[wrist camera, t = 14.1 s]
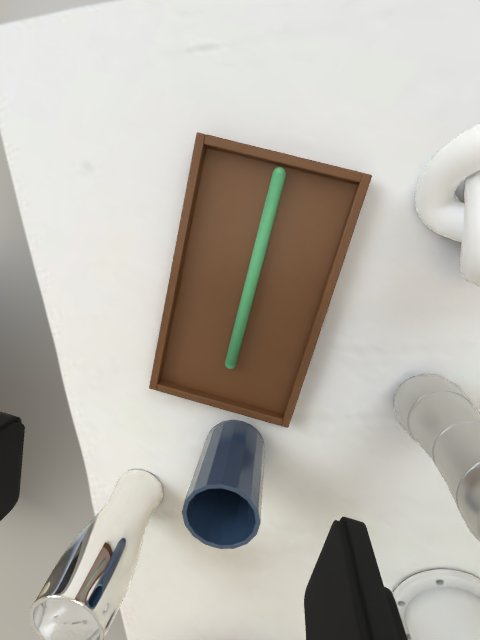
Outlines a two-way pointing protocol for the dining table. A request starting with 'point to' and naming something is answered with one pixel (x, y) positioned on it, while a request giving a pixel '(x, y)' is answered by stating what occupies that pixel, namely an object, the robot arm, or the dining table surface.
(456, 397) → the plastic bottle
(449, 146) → the white decorative knot
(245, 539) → the tumbler
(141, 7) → the dining table surface
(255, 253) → the straw
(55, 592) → the beer glass
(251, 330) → the tray
